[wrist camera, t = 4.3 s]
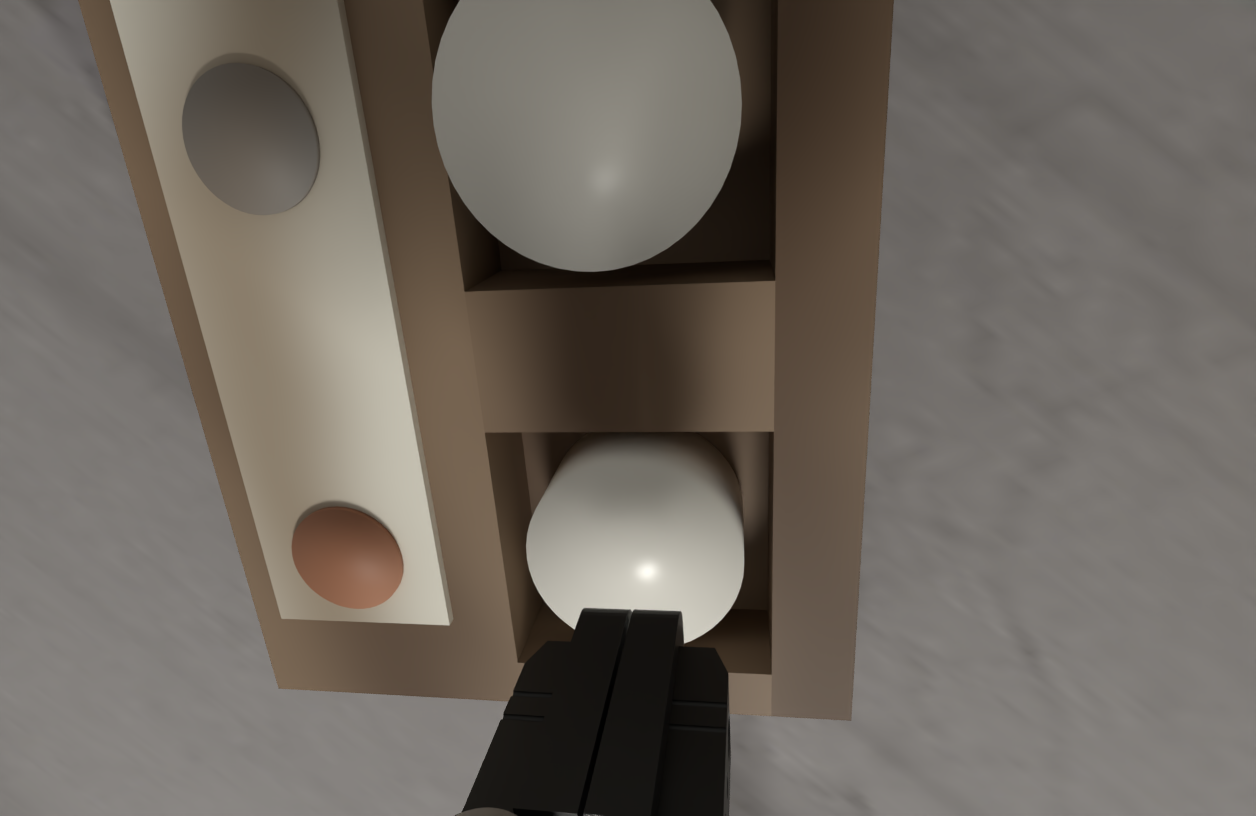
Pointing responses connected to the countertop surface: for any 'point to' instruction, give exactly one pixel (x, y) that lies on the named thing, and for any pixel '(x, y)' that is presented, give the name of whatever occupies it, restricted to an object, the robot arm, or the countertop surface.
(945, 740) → the countertop surface
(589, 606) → the button
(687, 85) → the button
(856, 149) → the button panel
